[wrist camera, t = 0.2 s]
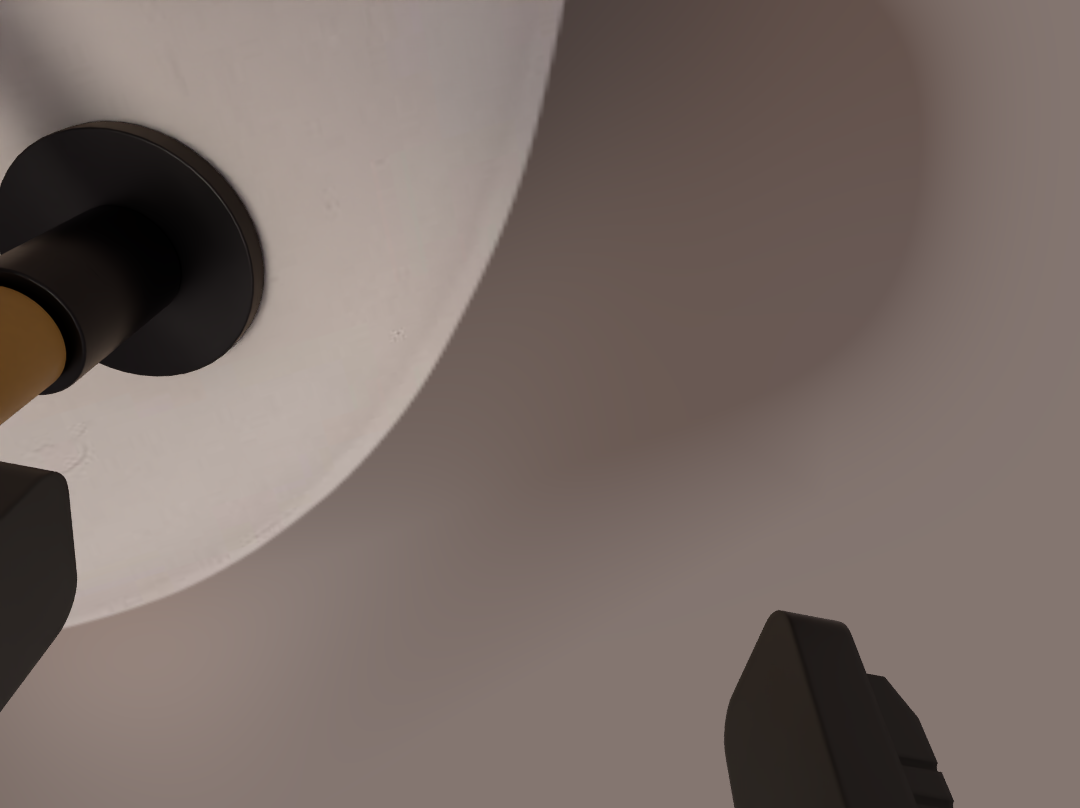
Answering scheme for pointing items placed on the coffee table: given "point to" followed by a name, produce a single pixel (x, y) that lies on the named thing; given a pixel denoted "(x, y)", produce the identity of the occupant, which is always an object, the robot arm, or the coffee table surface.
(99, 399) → the coffee table surface
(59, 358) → the tan bent bar
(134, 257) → the stand
